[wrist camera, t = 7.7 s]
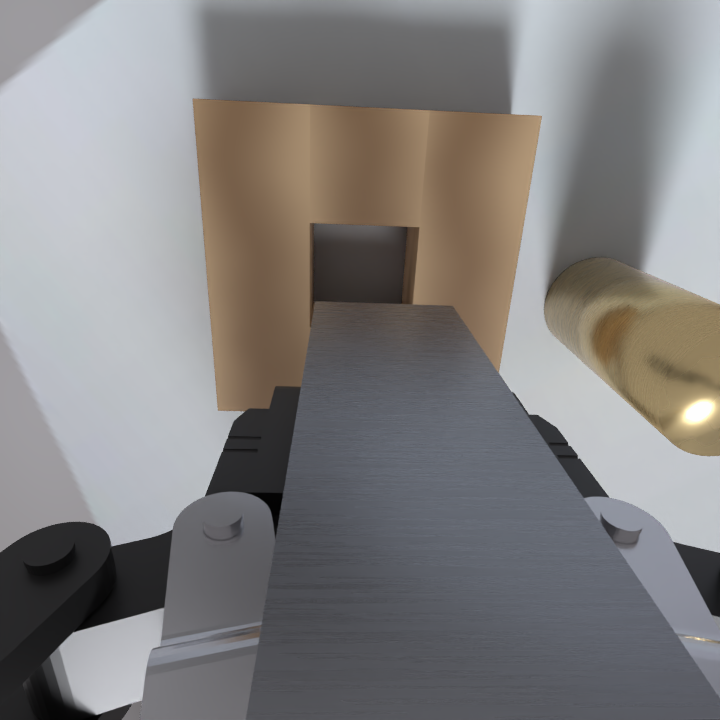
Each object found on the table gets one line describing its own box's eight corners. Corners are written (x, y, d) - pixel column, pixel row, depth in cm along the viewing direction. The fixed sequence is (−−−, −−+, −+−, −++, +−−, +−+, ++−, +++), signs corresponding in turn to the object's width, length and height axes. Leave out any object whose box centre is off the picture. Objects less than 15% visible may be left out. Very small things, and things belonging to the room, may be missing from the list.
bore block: (511, 119, 24) (541, 115, 20) (472, 381, 30) (491, 415, 26) (215, 105, 23) (192, 98, 20) (233, 376, 29) (217, 410, 25)
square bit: (452, 305, 13) (820, 845, 3) (438, 424, 15) (655, 1058, 4) (315, 300, 13) (222, 860, 3) (314, 421, 14) (250, 1074, 4)
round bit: (648, 258, 27) (831, 327, 17) (624, 348, 29) (775, 457, 19) (554, 255, 27) (683, 323, 17) (536, 345, 29) (641, 455, 19)
